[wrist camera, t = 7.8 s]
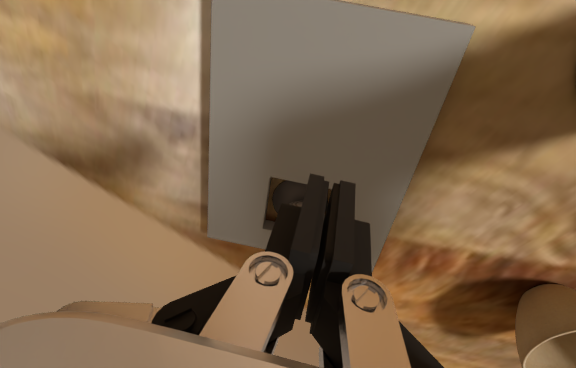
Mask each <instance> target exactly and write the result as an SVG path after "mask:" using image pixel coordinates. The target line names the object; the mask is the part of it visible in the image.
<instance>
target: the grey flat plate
mask: <svg viewBox="0 0 576 368" xmlns="http://www.w3.org/2000/svg"><path fill="white" fill-rule="evenodd" d="M474 29H475V26H473V25H470V24H467V23H462V22H456V21H450V20H445V19H439V18H434V17H428V16H423V15H417V14H412V13H406V12H401V11H395V10H390V9H384V8H379V7H373V6H368V5H362V4H357V3H351V2H345V1H340V0H212V8H211V65H210V121H209V178H208V234H207V237H209V238H214V239H219V240H223V241H228V242H233V243H237V244H242V245H247V246H251V247H256V248H261V249H265V250H266V247H267V244H268V241H269V238H270V235H271V232H272V229H273V226H274V223H275V222H274V221H269V220H265V219H266V212H267V205H268V198H269V191H270V184H271V177H274V178H279V179H283V180H286V181H284V182H282V183H281V184H280V185H278V186H277V188H276V189H275V191H274V193H273V197H272V202H273V206H274V209H275V210H276V212H277V213H278V212H279V209H280V206H281V204H282V203H286V204H290V203H292V202H295V201H303V200H304V196H305V192H306V188H307V184H308V180H309V176H310V173H311V174H315V175H320V176H324V181H329V188H328V189H332V187H333V184H334V183H338V184H339V183H340V180H342V181H347V182H351V183H355V184H356V188H355V220H359V221H363V222H367V223H369V224H370V235H371V264H372V272H373V269H374V267H375V264H376V262H377V260H378V257H379V255H380V253H381V250H382V248H383V245H384V243H385V241H386V238H387V236H388V234H389V231H390V229H391V226H392V224H393V222H394V219H395V217H396V215H397V212H398V210H399V207H400V205H401V203H402V200H403V198H404V196H405V193H406V191H407V188H408V186H409V184H410V181H411V179H412V177H413V174H414V172H415V169H416V167H417V165H418V162H419V160H420V158H421V155H422V153H423V150H424V148H425V146H426V143H427V141H428V139H429V136H430V134H431V131H432V129H433V127H434V124H435V122H436V120H437V117H438V115H439V112H440V110H441V108H442V105H443V103H444V101H445V98H446V96H447V93H448V91H449V89H450V86H451V84H452V82H453V79H454V77H455V74H456V72H457V70H458V67H459V65H460V63H461V60H462V58H463V55H464V53H465V51H466V48H467V46H468V44H469V41H470V39H471V36H472V34H473V32H474ZM327 206H328V200H327V201H326V208H325V212H326V210H327Z"/></svg>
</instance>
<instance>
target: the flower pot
mask: <svg viewBox="0 0 576 368" xmlns="http://www.w3.org/2000/svg"><path fill="white" fill-rule="evenodd" d="M515 335H516V344H517V350H518V354H519V359H520V362H521V366H522V368H576V290H574V289H571V288H569V287H566V286H563V285H559V284H544V285H539V286H536V287H533V288H531V289H529V290H528V291H526V292H525V293H524V294H523V295H522V297H521V298H520V301H519V304H518V308H517V313H516V322H515Z"/></svg>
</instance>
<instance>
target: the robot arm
mask: <svg viewBox="0 0 576 368" xmlns="http://www.w3.org/2000/svg"><path fill="white" fill-rule="evenodd" d="M328 188H329V181H324V176H320V175H315V174H311V173H310V176H309V180H308V184H307V188H306V192H305V196H304V200H303V203H302V207H298V206H294V205H290V204H286V203H282V204H281V206H280V209H279V212H278V215H277V218H276V221H275V223H274V226H273V229H272V232H271V235H270V238H269V241H268V244H267V247H266V250H265V252H259V253H256V254H254V255H252V256H250V257H249V258H248V259H247V260H246V261H245V263H244V265H243V266H242V268H241V269H240V271H239V272H238V274H237V275H236V276H234V277H231V278H229V279H226V280H224V281H221V282H219V283H217V284H214V285H212V286H209V287H207V288H204V289H202V290H199V291H197V292H194V293H192V294H189V295H187V296H185V297H182V298H180V299H177V300H175V301H172V302H170V303H168V304H167V305H165V306H163V307H162V308H158V307H157V308H156V307H153V304H151V303H124V302H99V301H80V302H73V303H71V304H68V305H66V306H63V307H62V308H61V309H59V310H58V311H57V312H48V313H39V314H33V315H28V316H22V317H19V318H15V319H11V320H8V321H6V322H3V323H0V368H444V367H443V366H442V365H441V364H440V363H439V362H438V361H437V360H436V359H435V358H434V357H433V356H432V355H431V354H430V353H429V352H428V351H427V349H426V348H425V347H424V346H423V345H422V344H421V343H420V342H419V341H418V340H417V339H416V338H415V337H414V336H413V335H412V334H411V333H410V332H409V331H408V330H407V329H406V328H405V327H404V326H403V325H402V324H401V323H400V322H399V321H398V317H397V313H396V310H395V306H394V302H393V298H392V296H391V294H390V291H389V290H388V289H387V287H386V286H385V285H384V284H383V283H381V282H380V281H379V280H377V279H375V278H373V277H372V264H371V235H370V224H369V223H367V222H363V221H359V220H355V188H356V184H355V183H351V182H347V181H342V180H340V183H339V184H338V183H334V184H333V187H332V191H331V195H330V198H329V202H328V206H327V210H326V213H325V208H326V201H327V195H328ZM324 214H325V217H324ZM311 280H312V281H311ZM310 283H311V288H310V294H309V300H308V306H307V312H306V319H305V321H306V322H309V323H311V327H310V334H312V335H313V336H314V338H315V339H316V341H317V342H318V343H319V345H320V348H319V367H316V366H312V365H309V364H305V363H301V362H298V361H294V360H290V359H286V358H282V357H279V356H275V355H273V353H274V350H275V348H276V345H277V343H278V338H279V337H280V336H282V335H284V334H285V333H287V332H289V331H291V330H292V328H293V324H294V320H295V319H298V320H300V319H301V315H302V311H303V308H304V305H305V301H306V298H307V294H308V290H309V287H310Z"/></svg>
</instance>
